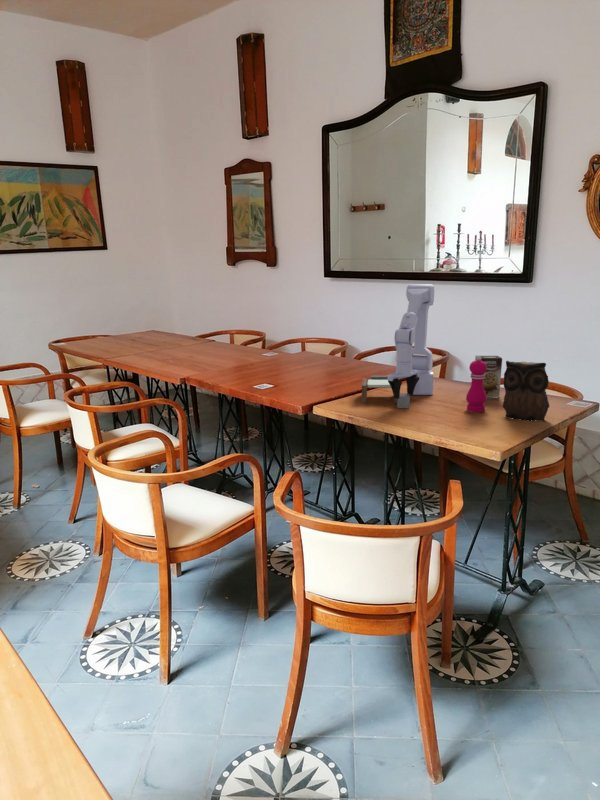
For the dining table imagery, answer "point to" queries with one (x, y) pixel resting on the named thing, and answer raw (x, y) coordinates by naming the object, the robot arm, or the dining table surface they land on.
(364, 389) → the frame
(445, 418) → the dining table surface
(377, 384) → the trapdoor
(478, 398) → the pepper mill
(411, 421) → the dining table surface
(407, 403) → the grey cube
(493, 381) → the coffee box
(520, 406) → the owl
